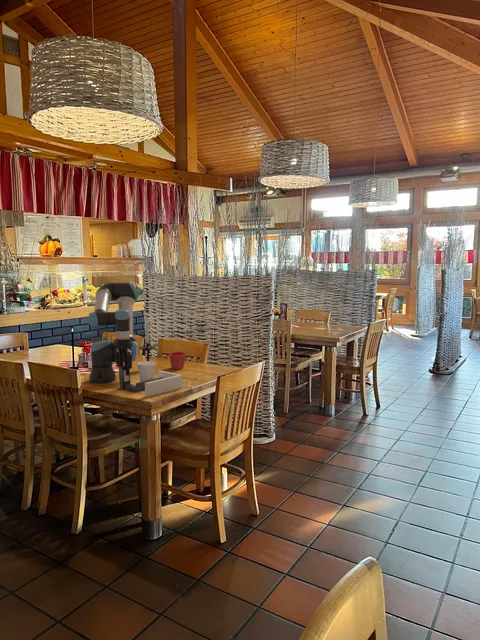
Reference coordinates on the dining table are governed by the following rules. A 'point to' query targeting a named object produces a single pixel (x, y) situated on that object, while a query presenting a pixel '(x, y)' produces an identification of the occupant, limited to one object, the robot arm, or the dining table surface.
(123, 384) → the crook tool
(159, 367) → the dining table surface
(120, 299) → the robot arm
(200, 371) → the dining table surface
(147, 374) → the cup
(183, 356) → the flower pot
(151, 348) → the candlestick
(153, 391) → the cubby
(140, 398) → the dining table surface
